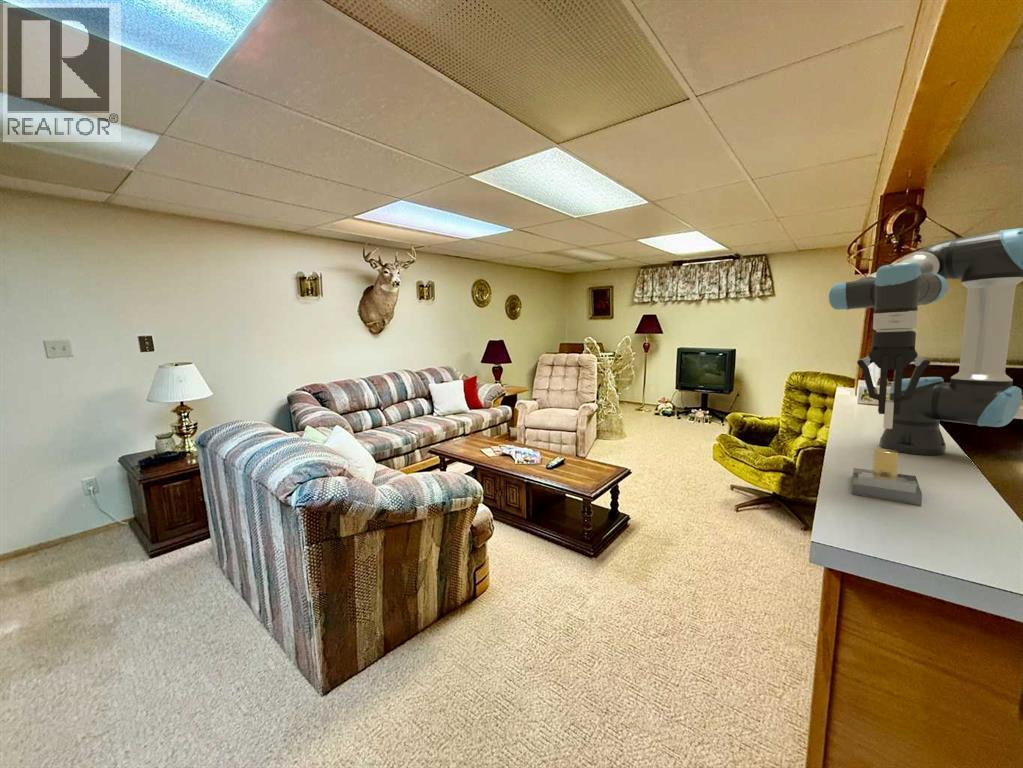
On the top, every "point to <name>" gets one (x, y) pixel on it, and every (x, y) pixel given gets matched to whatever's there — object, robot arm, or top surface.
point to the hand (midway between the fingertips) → (887, 427)
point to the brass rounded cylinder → (885, 463)
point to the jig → (886, 487)
